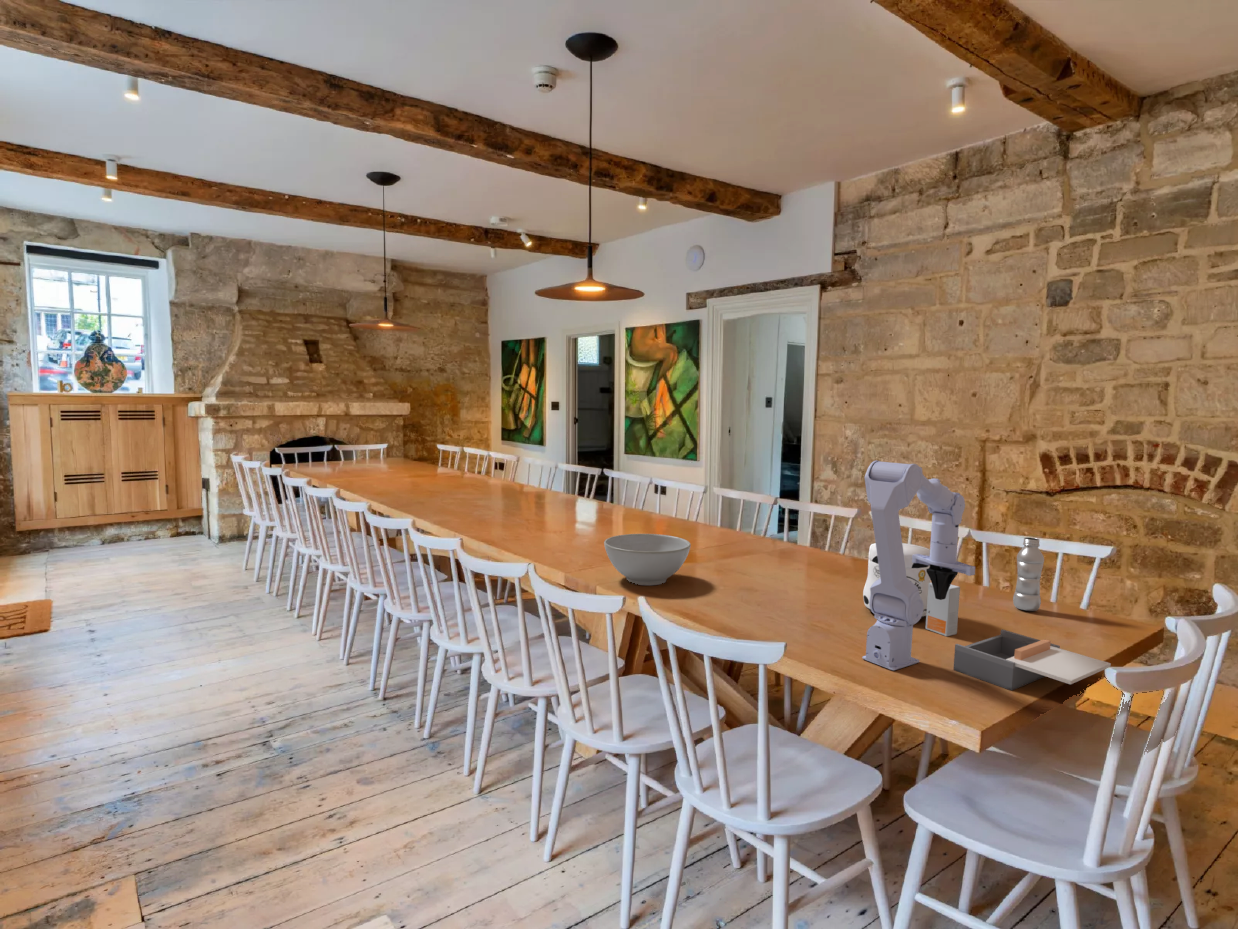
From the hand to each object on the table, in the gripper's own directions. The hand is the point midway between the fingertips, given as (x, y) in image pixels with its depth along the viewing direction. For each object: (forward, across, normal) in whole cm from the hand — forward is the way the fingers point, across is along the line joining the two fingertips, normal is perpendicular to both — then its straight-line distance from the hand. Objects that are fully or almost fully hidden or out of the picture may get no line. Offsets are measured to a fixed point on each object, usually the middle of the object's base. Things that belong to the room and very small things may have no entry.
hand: (940, 598), depth 161 cm
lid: (+6, -28, +4) cm, 29 cm away
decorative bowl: (+11, +79, +29) cm, 85 cm away
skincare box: (+11, +4, -7) cm, 13 cm away
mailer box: (+10, -18, +4) cm, 21 cm away
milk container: (+11, +18, -10) cm, 23 cm away
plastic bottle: (+11, +2, -45) cm, 46 cm away
